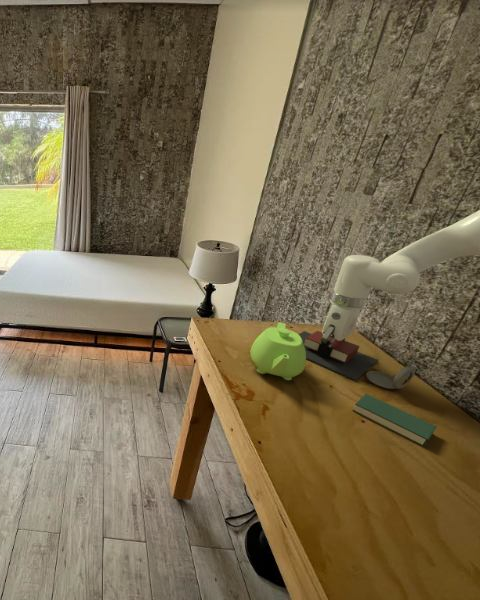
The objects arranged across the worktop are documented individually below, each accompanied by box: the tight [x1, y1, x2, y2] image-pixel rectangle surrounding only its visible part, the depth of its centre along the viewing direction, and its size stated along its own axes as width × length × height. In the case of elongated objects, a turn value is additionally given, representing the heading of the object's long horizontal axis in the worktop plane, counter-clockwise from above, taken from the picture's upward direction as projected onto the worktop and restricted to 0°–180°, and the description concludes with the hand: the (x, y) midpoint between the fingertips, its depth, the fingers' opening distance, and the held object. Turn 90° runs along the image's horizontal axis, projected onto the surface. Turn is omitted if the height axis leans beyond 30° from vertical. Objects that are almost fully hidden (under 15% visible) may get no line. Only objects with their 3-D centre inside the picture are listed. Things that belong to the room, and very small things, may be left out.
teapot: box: [249, 321, 307, 381], centre depth 88 cm, size 20×13×13 cm
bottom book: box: [352, 393, 438, 448], centre depth 72 cm, size 12×6×2 cm, turn 33°
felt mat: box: [298, 330, 379, 382], centre depth 97 cm, size 20×16×1 cm
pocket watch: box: [365, 358, 418, 390], centre depth 82 cm, size 8×8×10 cm
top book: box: [304, 330, 360, 363], centre depth 95 cm, size 11×7×3 cm
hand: (328, 351), depth 96 cm, fingers closed on top book, 7 cm apart
